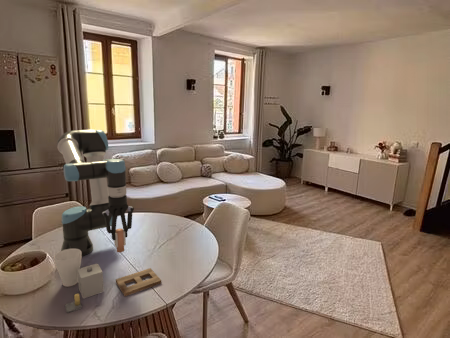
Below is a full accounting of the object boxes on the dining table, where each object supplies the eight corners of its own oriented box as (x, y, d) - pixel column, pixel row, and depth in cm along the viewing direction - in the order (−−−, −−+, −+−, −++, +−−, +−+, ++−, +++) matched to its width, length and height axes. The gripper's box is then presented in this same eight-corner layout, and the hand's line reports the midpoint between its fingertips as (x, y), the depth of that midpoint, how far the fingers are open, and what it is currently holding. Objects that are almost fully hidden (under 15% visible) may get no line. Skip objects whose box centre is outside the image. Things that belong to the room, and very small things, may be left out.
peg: (115, 250, 131) (114, 229, 128) (123, 248, 132) (121, 228, 130) (118, 253, 128) (116, 232, 126) (125, 251, 130) (124, 230, 128)
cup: (55, 292, 119) (52, 262, 117) (58, 278, 129) (55, 250, 126) (83, 286, 124) (80, 257, 121) (84, 273, 133) (82, 246, 130)
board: (115, 282, 127) (115, 279, 127) (150, 270, 137) (150, 268, 136) (124, 296, 118) (124, 293, 117) (161, 283, 127) (161, 280, 127)
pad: (65, 306, 111) (63, 295, 111) (79, 301, 114) (78, 290, 113) (67, 313, 108) (66, 302, 107) (82, 308, 111) (81, 297, 110)
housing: (78, 288, 122) (76, 267, 120) (98, 282, 127) (97, 261, 125) (83, 298, 116) (80, 276, 114) (103, 291, 121) (102, 269, 119)
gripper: (100, 200, 117) (104, 253, 122) (138, 194, 126) (140, 243, 132) (95, 195, 123) (99, 246, 128) (132, 190, 132) (134, 237, 137)
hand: (120, 245), depth 130 cm, fingers closed on peg, 3 cm apart
